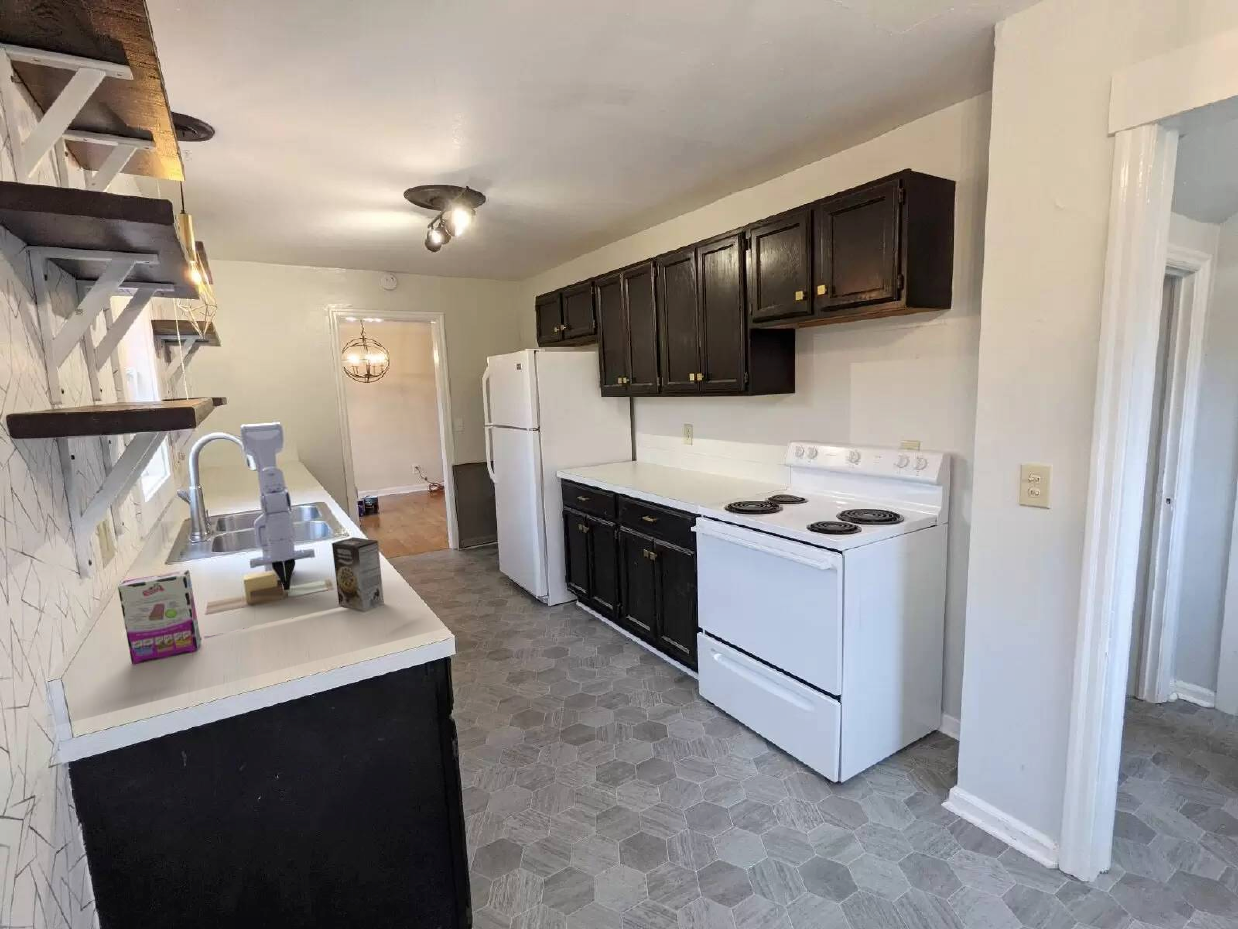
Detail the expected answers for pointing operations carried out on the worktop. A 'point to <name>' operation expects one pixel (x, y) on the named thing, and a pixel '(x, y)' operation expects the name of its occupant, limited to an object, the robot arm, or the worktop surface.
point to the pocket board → (268, 596)
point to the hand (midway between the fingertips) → (286, 589)
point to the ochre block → (259, 582)
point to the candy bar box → (159, 616)
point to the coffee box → (358, 573)
